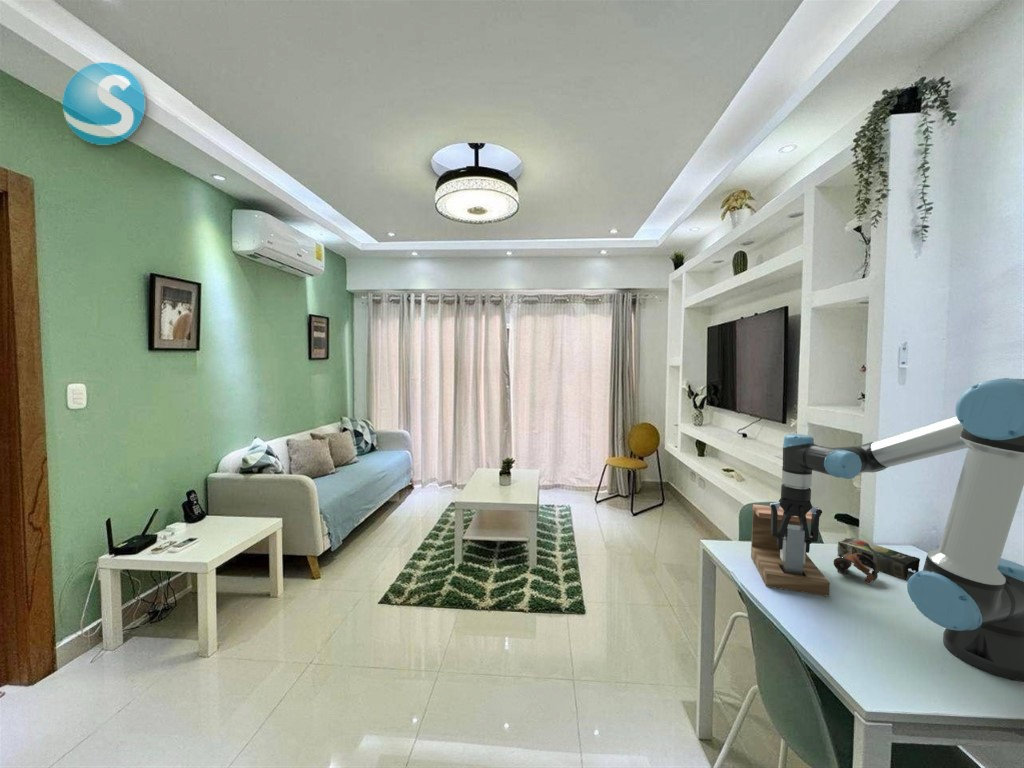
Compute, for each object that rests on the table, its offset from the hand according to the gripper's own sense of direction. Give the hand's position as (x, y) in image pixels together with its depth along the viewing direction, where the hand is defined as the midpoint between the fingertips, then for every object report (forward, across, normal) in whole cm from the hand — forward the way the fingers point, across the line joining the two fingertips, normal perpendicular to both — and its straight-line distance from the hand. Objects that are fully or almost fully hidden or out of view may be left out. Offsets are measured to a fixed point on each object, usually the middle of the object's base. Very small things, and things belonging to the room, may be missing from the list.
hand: (792, 560), depth 128 cm
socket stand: (+7, 0, -5) cm, 8 cm away
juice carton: (+8, -31, -24) cm, 40 cm away
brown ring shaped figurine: (+7, -20, -12) cm, 24 cm away
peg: (+4, 0, 0) cm, 4 cm away
